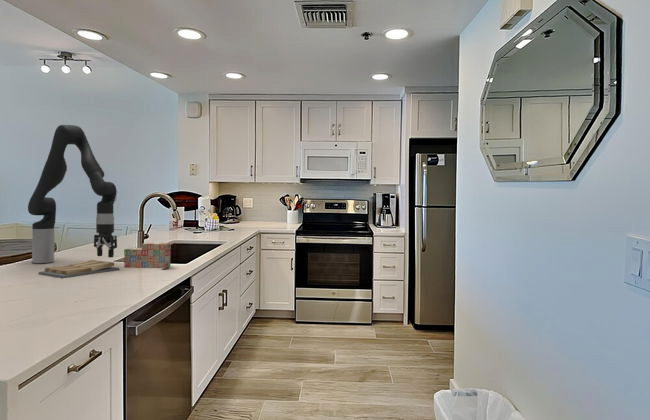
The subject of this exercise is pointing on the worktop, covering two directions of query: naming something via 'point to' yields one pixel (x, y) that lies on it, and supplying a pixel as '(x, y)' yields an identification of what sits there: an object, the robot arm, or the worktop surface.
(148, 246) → the stack of blocks
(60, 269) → the laid plank
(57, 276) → the underlay mat
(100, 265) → the board
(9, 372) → the worktop surface
